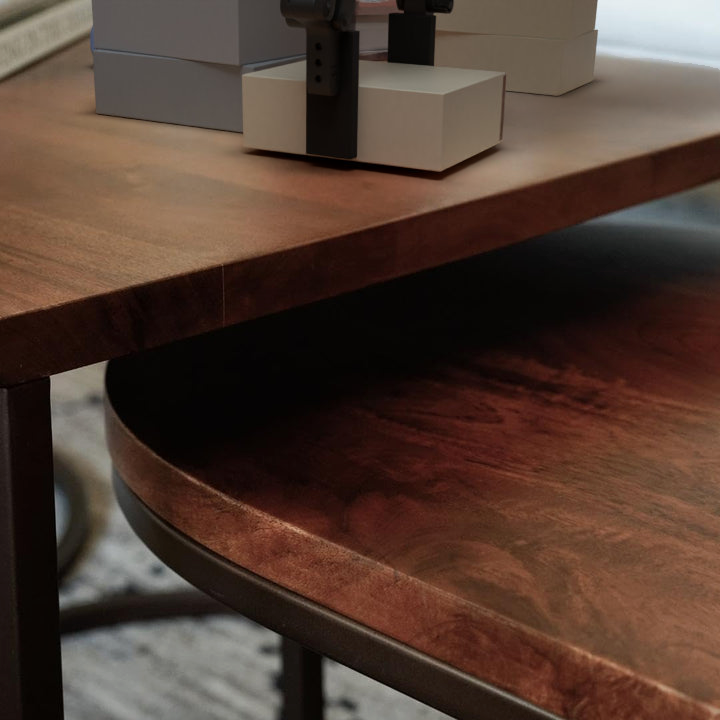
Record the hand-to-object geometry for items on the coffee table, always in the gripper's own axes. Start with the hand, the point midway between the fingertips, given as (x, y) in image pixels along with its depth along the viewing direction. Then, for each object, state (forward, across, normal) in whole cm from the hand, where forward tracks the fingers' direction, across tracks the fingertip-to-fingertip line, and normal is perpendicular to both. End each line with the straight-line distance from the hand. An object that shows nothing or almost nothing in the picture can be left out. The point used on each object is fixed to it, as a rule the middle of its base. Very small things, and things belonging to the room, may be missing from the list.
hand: (372, 139), depth 66 cm
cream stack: (+1, -30, -3) cm, 30 cm away
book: (+1, -36, -25) cm, 44 cm away
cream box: (0, 0, 0) cm, 0 cm away
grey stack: (+1, -5, -14) cm, 15 cm away
